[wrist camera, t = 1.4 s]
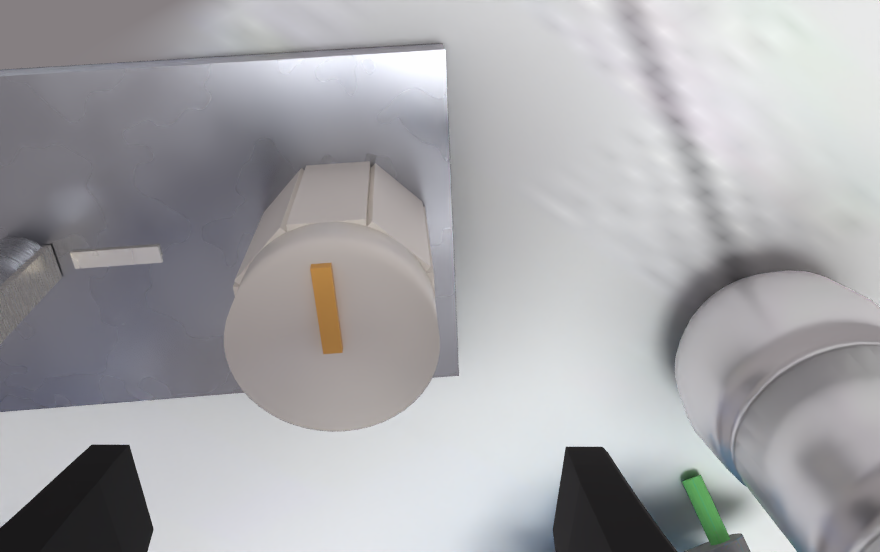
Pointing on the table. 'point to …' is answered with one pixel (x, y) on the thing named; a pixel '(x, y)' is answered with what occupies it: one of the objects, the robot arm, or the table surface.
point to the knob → (336, 301)
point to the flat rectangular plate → (185, 204)
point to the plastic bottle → (792, 402)
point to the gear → (711, 521)
